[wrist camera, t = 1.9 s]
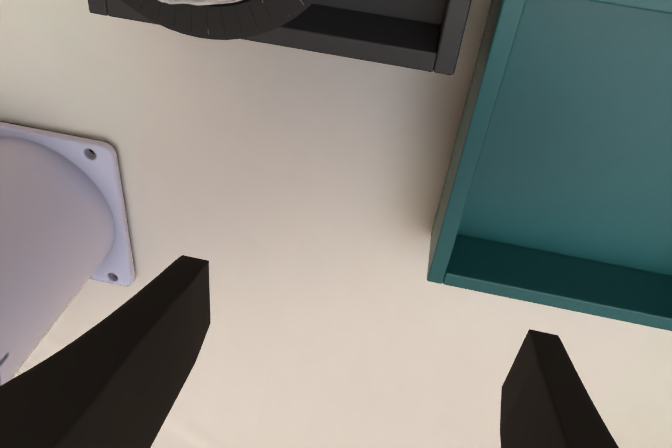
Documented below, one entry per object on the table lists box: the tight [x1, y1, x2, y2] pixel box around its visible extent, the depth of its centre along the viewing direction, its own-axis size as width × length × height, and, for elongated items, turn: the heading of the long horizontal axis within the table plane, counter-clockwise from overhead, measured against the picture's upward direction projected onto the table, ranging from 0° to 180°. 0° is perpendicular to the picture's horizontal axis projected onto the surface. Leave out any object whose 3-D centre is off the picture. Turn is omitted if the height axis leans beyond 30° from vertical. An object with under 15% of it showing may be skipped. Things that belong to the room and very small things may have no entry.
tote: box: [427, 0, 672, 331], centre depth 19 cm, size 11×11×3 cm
